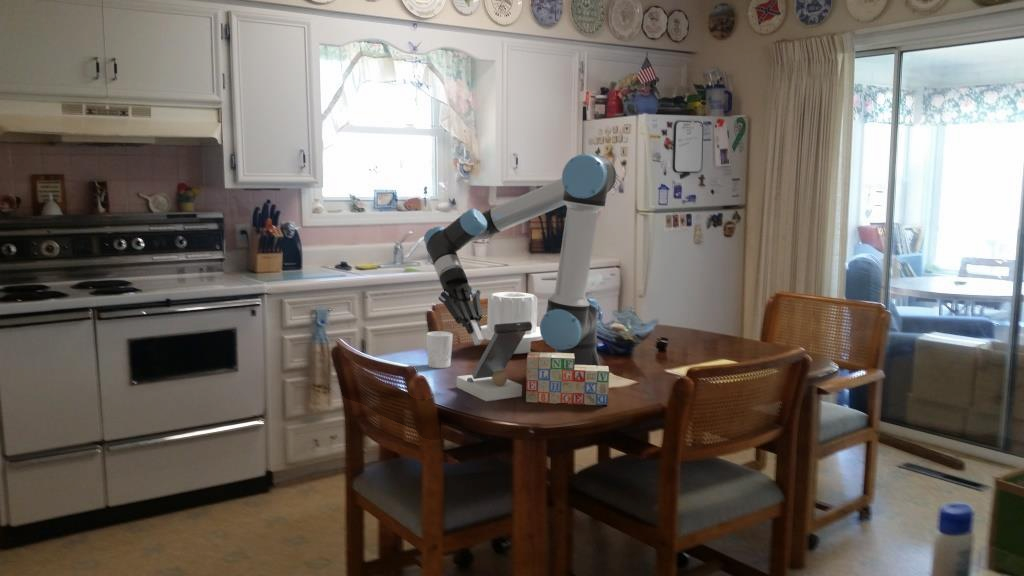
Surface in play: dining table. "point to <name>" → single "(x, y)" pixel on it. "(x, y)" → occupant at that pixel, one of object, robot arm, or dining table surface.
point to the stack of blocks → (565, 380)
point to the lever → (500, 348)
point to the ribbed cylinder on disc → (513, 316)
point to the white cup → (439, 349)
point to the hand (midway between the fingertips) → (479, 342)
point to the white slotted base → (490, 386)
